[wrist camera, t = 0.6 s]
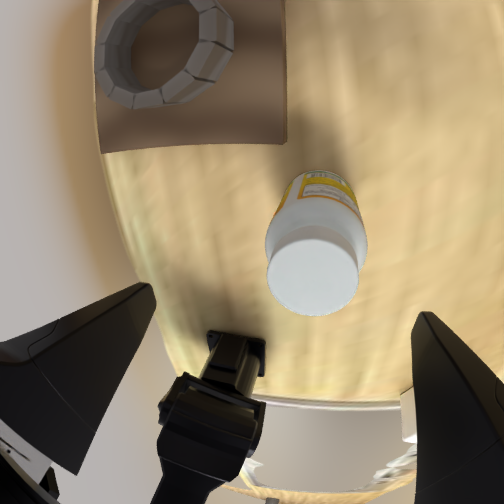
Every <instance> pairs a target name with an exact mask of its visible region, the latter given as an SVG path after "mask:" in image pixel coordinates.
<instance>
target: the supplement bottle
mask: <svg viewBox="0 0 504 504" xmlns="http://www.w3.org/2000/svg"><path fill="white" fill-rule="evenodd" d="M265 251H266V256H267V259H268V262H269V264H268V268H267V282H268V286H269V289H270V291H271V293H272V294H273V296H274V297H275V298H276V300H277V301H278V302H279V303H280V304H282V305H283V306H284V307H286V308H287V309H289V310H291V311H293V312H295V313H298V314H302V315H307V316H322V315H327V314H331V313H333V312H336V311H338V310H340V309H341V308H343V307H344V306H345V305H347V304H348V303H349V301H350V300H351V299H352V298H353V296H354V295H355V293H356V290H357V287H358V283H359V272H360V270H361V269H362V267H363V265H364V262H365V259H366V256H367V237H366V232H365V228H364V224H363V221H362V217H361V214H360V211H359V208H358V204H357V201H356V197H355V195H354V193H353V190H352V189H351V187H350V186H349V184H348V183H347V182H346V181H345V180H344V179H343V178H341V177H340V176H338V175H336V174H334V173H332V172H329V171H324V170H314V171H309V172H306V173H303V174H301V175H300V176H298V177H297V178H296V179H294V180H293V181H292V182H291V184H290V185H289V186H288V188H287V190H286V192H285V194H284V196H283V198H282V200H281V202H280V205H279V207H278V208H277V211H276V213H275V214H274V216H273V218H272V220H271V222H270V225H269V227H268V230H267V234H266V239H265Z"/></svg>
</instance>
